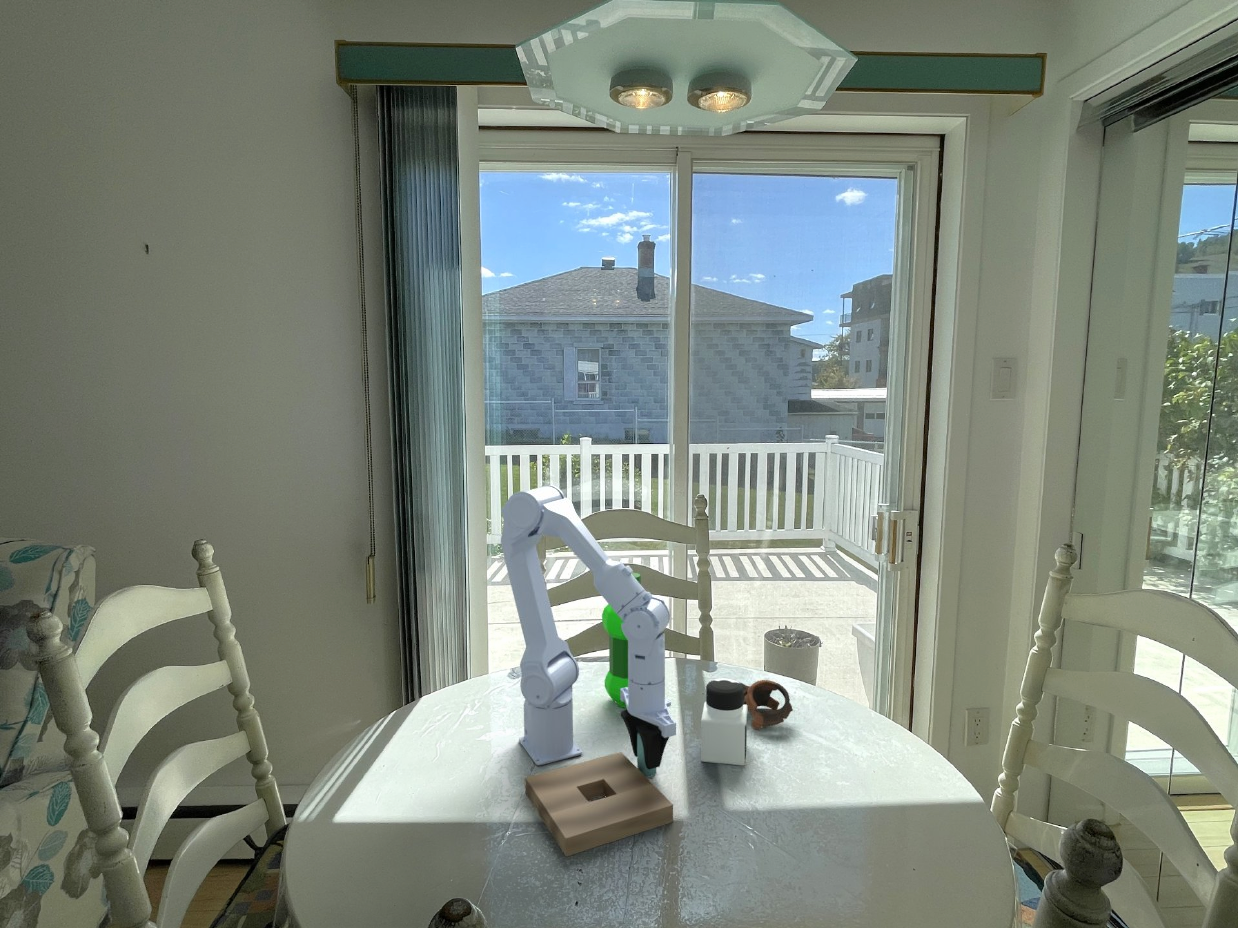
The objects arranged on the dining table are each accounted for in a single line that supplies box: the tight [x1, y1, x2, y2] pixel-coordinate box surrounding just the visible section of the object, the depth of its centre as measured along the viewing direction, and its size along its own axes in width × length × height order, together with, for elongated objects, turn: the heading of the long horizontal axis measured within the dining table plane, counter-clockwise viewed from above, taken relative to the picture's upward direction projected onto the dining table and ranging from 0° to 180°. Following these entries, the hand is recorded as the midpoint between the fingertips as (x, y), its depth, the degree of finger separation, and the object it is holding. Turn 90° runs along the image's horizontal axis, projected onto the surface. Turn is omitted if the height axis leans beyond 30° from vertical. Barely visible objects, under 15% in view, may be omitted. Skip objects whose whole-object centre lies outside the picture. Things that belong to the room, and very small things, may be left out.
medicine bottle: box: [700, 678, 748, 767], centre depth 113 cm, size 7×7×12 cm
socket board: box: [524, 751, 674, 857], centre depth 99 cm, size 16×16×2 cm
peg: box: [636, 733, 657, 778], centre depth 108 cm, size 3×3×6 cm
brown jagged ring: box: [737, 679, 794, 732], centre depth 126 cm, size 12×10×8 cm
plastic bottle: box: [601, 572, 642, 709], centre depth 132 cm, size 10×10×25 cm
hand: (646, 760), depth 109 cm, fingers open, 3 cm apart
